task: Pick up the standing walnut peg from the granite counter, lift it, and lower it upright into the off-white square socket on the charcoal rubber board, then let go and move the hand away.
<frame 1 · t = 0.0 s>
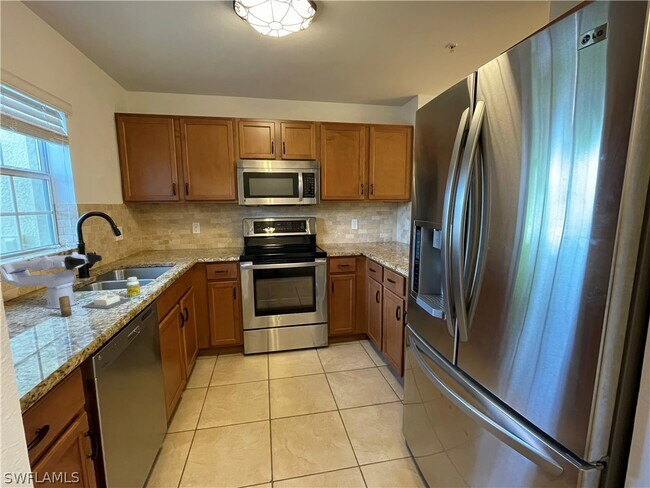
hand: (92, 259, 129), 22 cm above the countertop, tool horizontal, fingers open, 7 cm apart
supplement bottle: (134, 297, 148), on the countertop
walnut peg: (66, 315, 124), on the countertop
peg socket: (107, 303, 138), on the countertop
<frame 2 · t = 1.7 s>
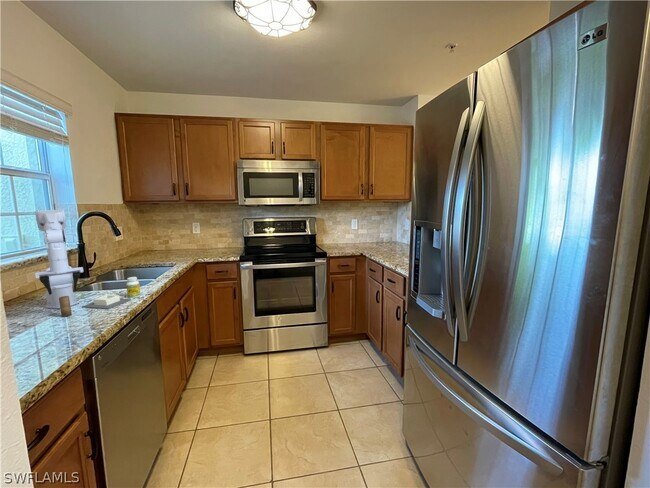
hand: (63, 292, 122), 10 cm above the countertop, tool pointing down, fingers open, 7 cm apart
nothing on the countertop moved.
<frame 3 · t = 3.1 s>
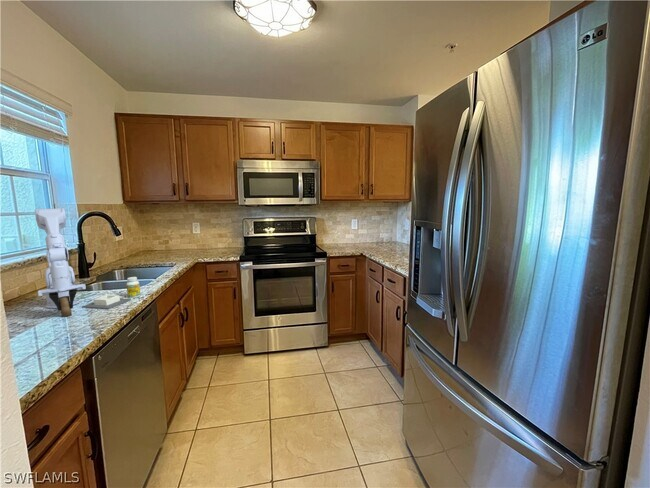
hand: (65, 309, 123), 3 cm above the countertop, tool pointing down, fingers closed on walnut peg, 3 cm apart
walnut peg: (66, 315, 124), on the countertop, touching gripper
everything else where it was.
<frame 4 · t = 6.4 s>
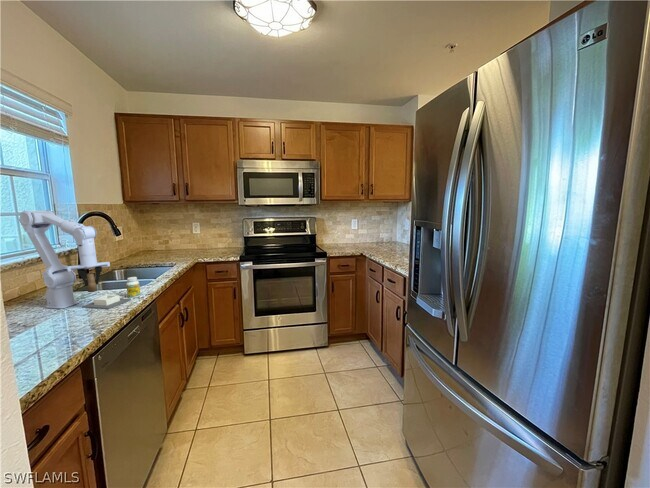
hand: (91, 284, 131), 10 cm above the countertop, tool pointing down, fingers closed on walnut peg, 3 cm apart
walnut peg: (92, 291, 132), point 7 cm above the countertop, touching gripper
everything else where it was.
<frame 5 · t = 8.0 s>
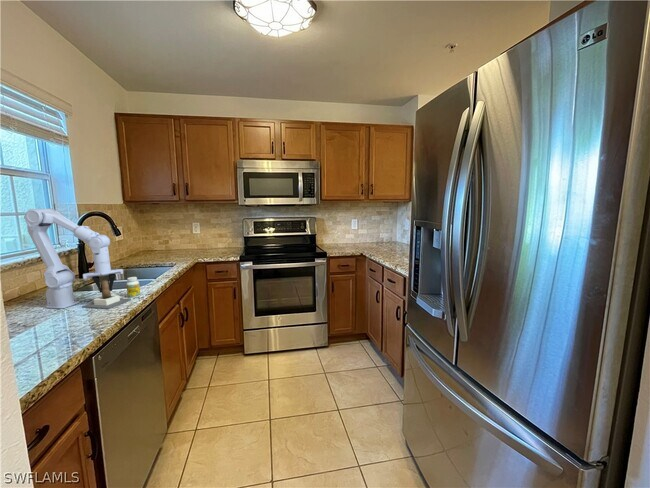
hand: (105, 291, 137), 6 cm above the countertop, tool pointing down, fingers closed on walnut peg, 3 cm apart
walnut peg: (106, 297, 137), point 3 cm above the countertop, touching gripper
everything else where it was.
when the fingers open (4 cm above the countertop, at t = 9.4 s): walnut peg stays where it is, resting on peg socket.
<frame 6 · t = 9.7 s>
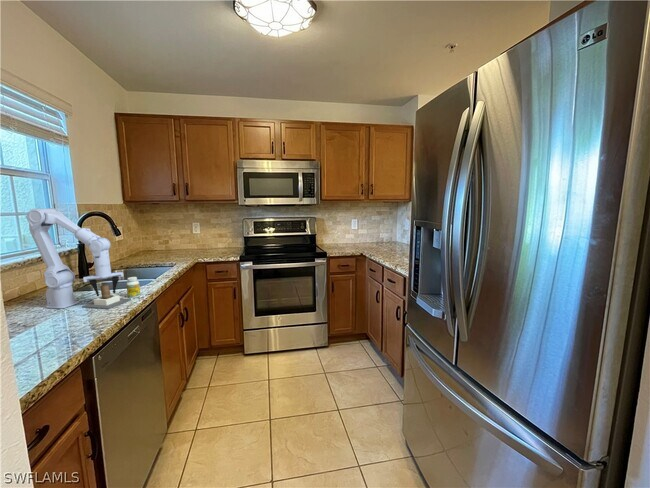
hand: (106, 294, 137), 5 cm above the countertop, tool pointing down, fingers open, 5 cm apart
walnut peg: (107, 302, 137), point 1 cm above the countertop, touching peg socket
everything else where it was.
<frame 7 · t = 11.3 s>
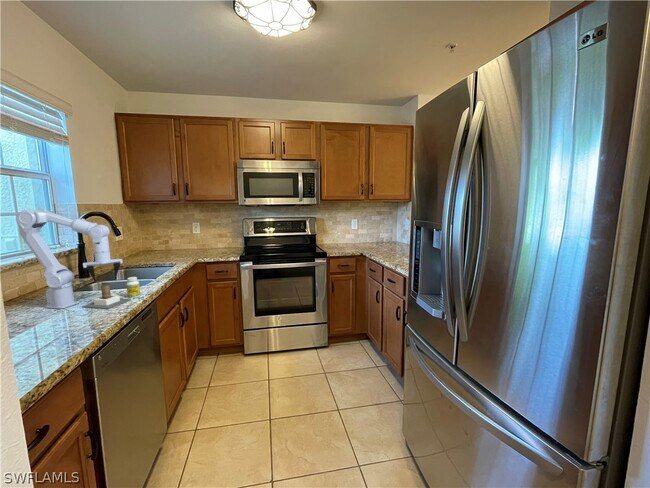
hand: (105, 280, 138), 10 cm above the countertop, tool pointing down, fingers open, 7 cm apart
nothing on the countertop moved.
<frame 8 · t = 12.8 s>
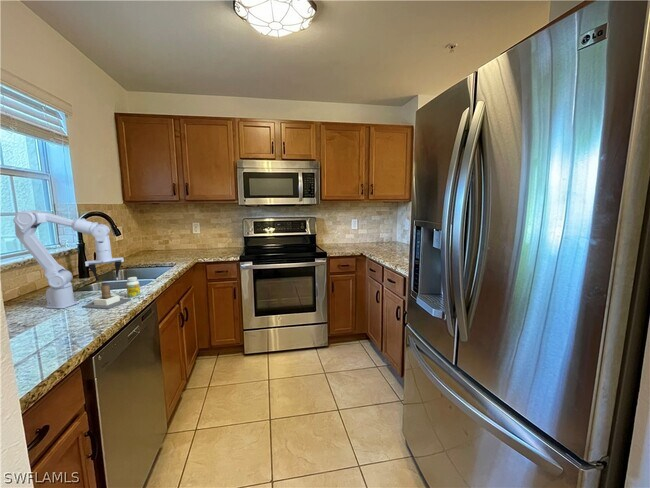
hand: (107, 278, 142), 10 cm above the countertop, tool pointing down, fingers open, 7 cm apart
nothing on the countertop moved.
at the end: walnut peg 0.0 cm off-centre on the peg socket, point 0.6 cm above the peg socket's base; walnut peg tilted 0°; the gripper is holding nothing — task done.
